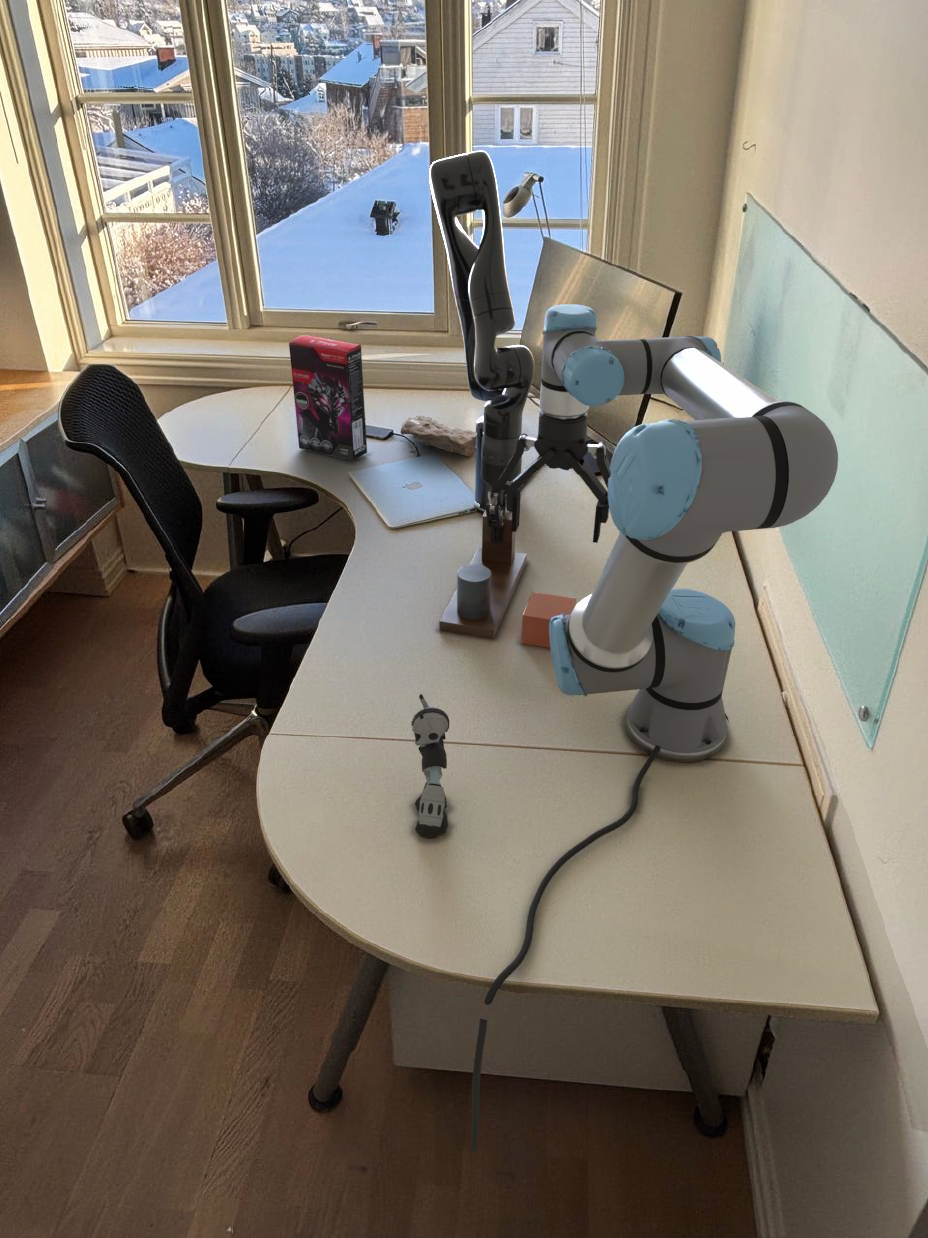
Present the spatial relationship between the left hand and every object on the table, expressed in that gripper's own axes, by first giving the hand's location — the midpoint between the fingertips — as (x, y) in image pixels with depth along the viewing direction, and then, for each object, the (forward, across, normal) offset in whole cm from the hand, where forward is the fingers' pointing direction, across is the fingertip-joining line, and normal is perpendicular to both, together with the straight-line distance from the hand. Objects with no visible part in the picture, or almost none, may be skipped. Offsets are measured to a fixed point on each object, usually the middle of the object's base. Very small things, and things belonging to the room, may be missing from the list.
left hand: (498, 537), depth 180 cm
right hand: (-13, -20, -14) cm, 28 cm away
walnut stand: (+7, -10, 0) cm, 12 cm away
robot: (+7, -68, -7) cm, 69 cm away
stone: (+7, +55, +29) cm, 62 cm away
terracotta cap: (+7, -20, -14) cm, 25 cm away
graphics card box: (+7, +44, +53) cm, 69 cm away
